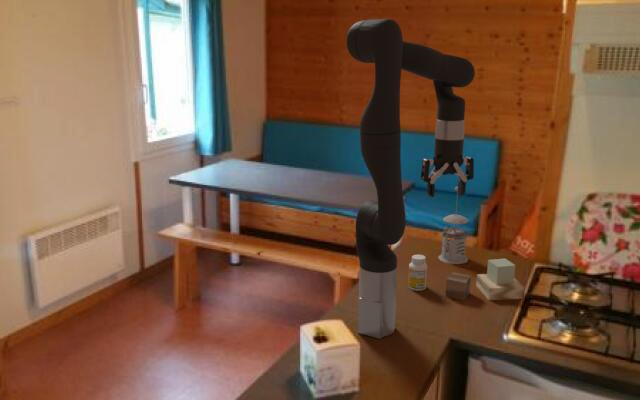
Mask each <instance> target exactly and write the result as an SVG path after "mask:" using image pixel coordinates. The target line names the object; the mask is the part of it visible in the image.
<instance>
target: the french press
mask: <svg viewBox="0 0 640 400" xmlns="http://www.w3.org/2000/svg"><path fill="white" fill-rule="evenodd" d="M454 191H456V198H458V197H459V196H458V195H459V194H458V186H455V187H454ZM457 210H458V201H456V205H455V213H457ZM442 220H443V222H444V223H446V224H448V225H449V224H450V225H454V227H452V226H451V227H448V226H447V225H446V226H445V227H444V228H443V231H442V233H441V254H440V255H438V260H440V261H441V262H443V263H446V264H451V265H461V264H462V265H463V264H465V263H467V262H469V259H468V257H467V256H466V246H467V244H466V243H467V238H468V237H467V235H466V234H467V232H466V230H464V229H463V228H457V227H456V225H457V226H458V225H466V224H467V223H468V222H469V219H468V218H467V217H465V216H463V215H460V214H449V215H447V216H444V218H443V217H442Z"/></svg>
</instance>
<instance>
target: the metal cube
mask: <svg viewBox="0 0 640 400" xmlns="http://www.w3.org/2000/svg"><path fill="white" fill-rule="evenodd" d="M471 280H472V275H468V274H464V273H463V274H462V273H458V272H454V271H453V272H451V273H450V274H449V275H448V277H447V278H446V282H445V297H447V298H451V299H456V300H460V301H466V299H467V298H468V297H469V295H470V294H471V287H472V281H471Z"/></svg>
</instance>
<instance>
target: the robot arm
mask: <svg viewBox="0 0 640 400" xmlns="http://www.w3.org/2000/svg"><path fill="white" fill-rule="evenodd" d="M346 48H347V50H348V53H349V55H350V56H351V57H352V59H354V60H355V61H356V62H360V63H363V64H374V75H375V76H374V87H373V91H372V95H371V97H370V99H369V100H368V102H367V105H366V107H365V109H364V111H363V114H362V115H361V117H360V118H361V119H360V121H359V137H360V138H359V142H360V152H361V156H362V159H363V162H364V164H365V166H366V168H367V170H368V171H369V174H370V176H371V178H372V181H373V183H374V186H375V188H376V189H375V190H376V193H377V194H376V195H377V196H376V197H377V200H374V199H373V200H367V201H365V202H363V204H362V205H361V206H360V207H359V209H358V211H357V215H356V220H355V245H356V247H355V248H356V254H357V257H358V260H359V268H358V269H359V274H358V275H359V277H358V278H359V279H358V280H359V281H358V309H357V310H358V311H357V312H358V313H357V314H358V315H357V317H358V318H357V319H358V320H357V333H358V334H360V335H366V336H369V337H373V338H376V339H382V338H384V337H387V336H390V335H391V334H393V333H394V332H395V328H396V326H395V325H396V305H397V304H396V302H397V301H396V299H397V278H398V277H397V273H398V271H397V270H398V257H397V254H396V253H395V252H394V250H392V249H391V247H390V246H393V245H396V244H398V243H399V242H400V240H401V239H402V238H403V235H404V233H405V229H406V225H407V224H406V221H407V220H406V209H405V208H406V207H405V200H404V192H403V183H402V162H401V159H402V158H401V155H402V154H401V153H402V152H401V148H402V146H401V145H402V143H401V142H402V138H401V137H402V135H401V132H402V131H401V116H400V115H401V112H400V111H401V110H400V109H401V77H402V70H403V71H406V72H408V73H411V74H414V75H417V76H420V77H421V78H424V79H428V80H431V81H432V83H433V86H434V92H435V97H436V101H437V112H436V124H435V129H434V130H435V131H434V152H433V154H434V155H433V159H429V158H426V157H424V158H422V160H421V161H422V162H421V169H420V171H421V172H420V180H421V181H423V182H425V183H427V184H426V194H427V195H428V197H430V198H434V197H435V186H436V185H435V182H436V181H437V180H438V179H439V178H440V177H441V176H442V175H443V176H445V175H456V176H457V178H458V179H459V180H458V181H457V187H458V195H459V196H461V197H462V196H464V194H465V193H466V189H467V188H466V187H467V181H470V180H471V181H472V180H473V179H474V175H475V174H474V170H475V167H474V166H475V165H474V164H475V161H474V160H475V159H474V158H473V157H471V156H469V155H467V156H466V157H463V154H464V143H465V129H466V128H465V114H466V100H465V98H463V97H461V96H458V95H457V94H456V93H454V89H453V88H465V87H468V86H469V85H471V83H472V82H473V81H474V79H475V75H476V71H475V67H474V65H473V64H472V62H471V61H470V60H468V59H466V58H464V57H459V56H456V55H451V54H447V53H443V52H441V51H439V50H437V49H434V48H432V47H430V46H428V45H424V44H420V43H414V42H409V41H404V39H403V33H402V29H401V26H400V25H399V24H398V22H397V21H396V20H394V19H390V18H379V19H378V18H377V19H375V18H374V19H363V20H360V21H357V22H355V23H354V24H353V25H352V26H351V27H350V28H349V30H348V33H347V35H346ZM463 164H464V165H465V170H464V171H465V173H464V171H462V168H461V167H462V165H463ZM432 165H433V166H434V167H433V169H432V170H430V168H431V167H432ZM430 171H431V172H430Z"/></svg>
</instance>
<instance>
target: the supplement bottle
mask: <svg viewBox="0 0 640 400" xmlns="http://www.w3.org/2000/svg"><path fill="white" fill-rule="evenodd" d="M426 261H427V260H426V256H425V255H423V254H414V255H412V256H411V262H409V264H408V280H407V281H408V283H407V285H408V288H409V290H412V291H419V292H420V291H425V290H426V289H427V285H428V284H427V281H428V280H427V279H428V265H427V263H426Z"/></svg>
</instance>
